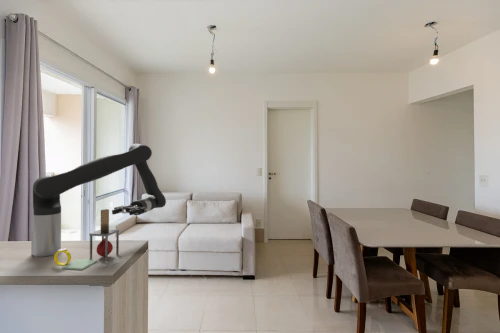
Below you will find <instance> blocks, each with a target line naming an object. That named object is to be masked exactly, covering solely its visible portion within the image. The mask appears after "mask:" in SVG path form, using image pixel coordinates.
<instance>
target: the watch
mask: <svg viewBox="0 0 500 333" xmlns="http://www.w3.org/2000/svg"><path fill="white" fill-rule="evenodd" d="M60 253H64V254H65V255H66V256H67V260H66V262H61V261H60V260H59V258H58V256H59V254H60ZM53 256H54V257H53V260H54V263H55V264H56V265H57V266H66V265H68V264H70V263H71V261H72V254H71V253H70V251H69V250H68V249H67V248H65V247H64V248H61V249H59V250H58V252H56V253H55V254H54V255H53Z"/></svg>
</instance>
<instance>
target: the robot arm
mask: <svg viewBox="0 0 500 333" xmlns="http://www.w3.org/2000/svg"><path fill="white" fill-rule="evenodd" d="M152 155H153V151H152V148H150V147H149V145H145V144H142V143H133V144H132V145H130V147H129V148H128V151H125V152H122V153H117V154H110V155H106V156H105V155H104V156H102V157H98V158H94V159H91V160H89V161H87V162H85V163H83V164H81V165H78V166H77V167H75V168H74V169H72V170H68V171H66V172H63V173H59V174H55V175H51V176H50V175H45V176H44V175H43V176H41V177H39V178H37V179H36V180H35V181H34V182H33V185H32V210H33V231H32V232H31V234H30V235H31V237H30V239H31V240H30V241H31V243H30V244H31V250H30V251H31V252H30V255H32V256H33V257H35V258H43V257H50V256H54V255H55V253H56V252H58V250H59V249H62V205H61V194H63V193H66V192H67V191H69V190H71V189H73V188H76V187H78V186H81V185H83V184H87V183H90V182H94V181H97V180H99V179H102V178H104V177H107V176H109V175H112V174H113V173H116V172H119V171H120V170H124V169H126V168H127V167H128V168H129V167H131V166H134V167H135V168H136V170H137V171H138V174H139V177H140V179H141V181H142V184H143V188H144V189H145V193H146V194H147V195H148V197H147V198H141V199H136V200H134V201H132V202H131V203H130V204H128V205H120V206H115V207H113V209H112V210H111V214H112V215H116V214H123V215H124V214H129V216H140V215H143V214H145V213H147V212H150V211H153V209H159V208H164V207H165V206H166V202H167V200H166V197H165V195H164V194H163V192H162V191H161V189H160V187H159V185H158V182H157V180H156V178H155V177H156V176H155V175H154V173H153V172H152V170H151V169H150V168H149V165H148V162H147V161H148V160H149V159H150V158H151V157H152Z"/></svg>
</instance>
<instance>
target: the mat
mask: <svg viewBox="0 0 500 333" xmlns="http://www.w3.org/2000/svg"><path fill="white" fill-rule="evenodd" d="M98 262H99V260H98V259H92V260H90V258H89V259H88V258H78V259H76V260H74V261H73V262H69V263H68V264H66V265H62V268H61V269H62V270H75V271H76V270H77V271H83V270H85V269H86V268H89V267H90V266H92V265H94V264H96V263H98Z"/></svg>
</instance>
